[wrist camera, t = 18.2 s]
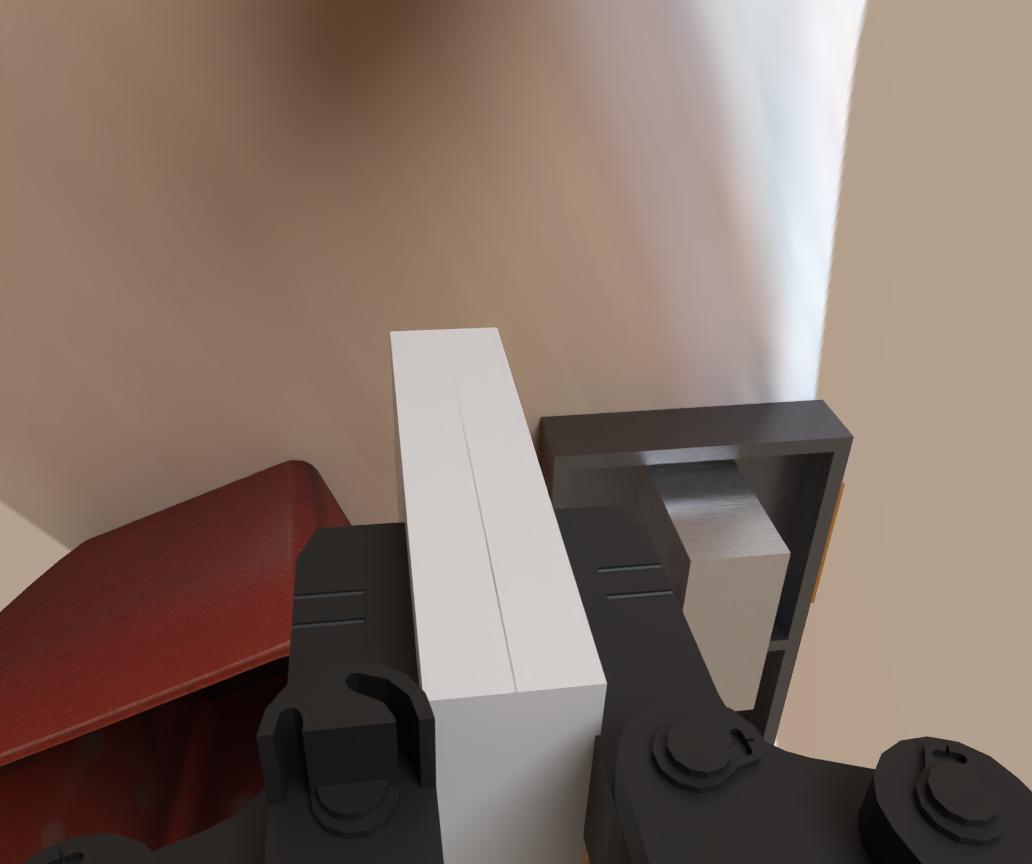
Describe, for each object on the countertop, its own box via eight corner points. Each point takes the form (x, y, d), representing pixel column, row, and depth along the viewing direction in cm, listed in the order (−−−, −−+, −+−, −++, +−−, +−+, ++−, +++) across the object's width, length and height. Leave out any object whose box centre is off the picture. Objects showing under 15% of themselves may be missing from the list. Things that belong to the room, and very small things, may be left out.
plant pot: (-36, 519, 43) (-222, 843, 29) (333, 369, 42) (323, 634, 28) (183, 750, 54) (123, 1069, 40) (484, 636, 52) (532, 926, 38)
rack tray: (527, 777, 60) (535, 825, 57) (541, 417, 45) (554, 457, 42) (746, 751, 62) (766, 796, 59) (830, 399, 47) (861, 436, 44)
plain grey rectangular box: (624, 604, 51) (665, 718, 45) (642, 456, 46) (690, 561, 39) (702, 598, 52) (753, 709, 45) (728, 451, 47) (790, 552, 40)
